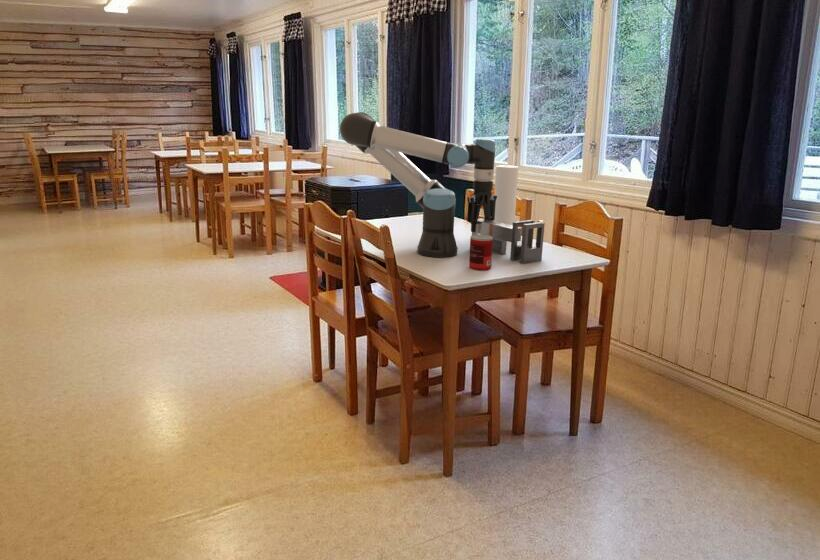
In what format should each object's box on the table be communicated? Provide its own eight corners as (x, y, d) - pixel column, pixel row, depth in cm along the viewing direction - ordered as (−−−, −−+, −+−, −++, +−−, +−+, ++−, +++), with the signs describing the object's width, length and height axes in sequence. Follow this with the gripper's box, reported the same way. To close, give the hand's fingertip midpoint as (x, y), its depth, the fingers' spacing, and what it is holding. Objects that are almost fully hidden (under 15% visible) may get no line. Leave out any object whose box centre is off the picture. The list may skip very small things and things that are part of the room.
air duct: (471, 231, 244) (471, 219, 242) (480, 230, 247) (481, 218, 245) (510, 242, 227) (511, 228, 225) (521, 240, 230) (522, 227, 228)
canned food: (489, 265, 217) (491, 234, 214) (492, 271, 210) (494, 239, 207) (467, 264, 217) (469, 234, 214) (470, 270, 209) (472, 238, 206)
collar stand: (523, 263, 220) (526, 225, 216) (510, 260, 225) (512, 222, 222) (545, 259, 227) (549, 222, 223) (532, 256, 232) (535, 219, 228)
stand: (501, 254, 234) (502, 241, 232) (481, 248, 242) (482, 236, 241) (505, 253, 235) (506, 240, 234) (486, 248, 244) (486, 235, 242)
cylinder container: (515, 237, 266) (520, 166, 258) (493, 236, 266) (497, 165, 258) (512, 232, 275) (516, 164, 267) (490, 232, 275) (495, 163, 267)
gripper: (472, 182, 230) (468, 243, 236) (507, 180, 240) (503, 238, 246) (459, 180, 235) (456, 239, 242) (493, 178, 246) (490, 235, 252)
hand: (479, 239), depth 244 cm, fingers closed on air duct, 5 cm apart
